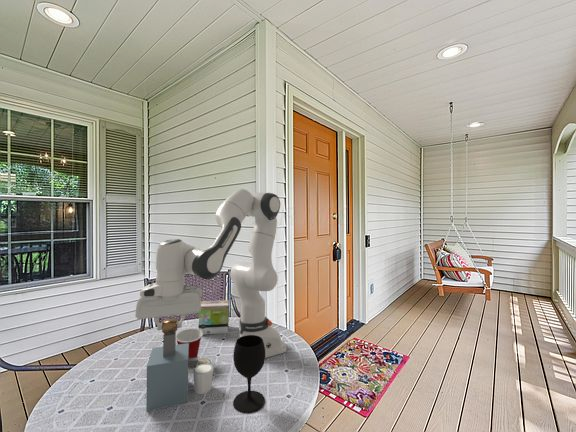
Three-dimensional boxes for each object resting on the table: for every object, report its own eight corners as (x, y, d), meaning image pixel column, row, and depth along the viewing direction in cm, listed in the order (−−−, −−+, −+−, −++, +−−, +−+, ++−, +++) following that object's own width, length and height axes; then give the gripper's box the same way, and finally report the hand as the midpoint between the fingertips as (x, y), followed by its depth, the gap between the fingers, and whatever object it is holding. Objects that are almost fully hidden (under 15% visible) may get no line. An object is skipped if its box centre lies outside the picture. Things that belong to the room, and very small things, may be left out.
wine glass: (236, 417, 80) (237, 351, 81) (230, 396, 90) (230, 336, 90) (269, 407, 85) (269, 344, 85) (259, 388, 94) (260, 331, 94)
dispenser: (197, 379, 99) (197, 322, 99) (197, 400, 88) (197, 336, 88) (152, 387, 94) (152, 328, 94) (146, 411, 83) (146, 343, 83)
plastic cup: (176, 373, 103) (176, 342, 103) (173, 359, 113) (174, 331, 113) (205, 366, 108) (205, 336, 108) (200, 353, 118) (200, 326, 118)
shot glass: (207, 396, 90) (207, 375, 90) (188, 393, 91) (188, 372, 91) (216, 383, 97) (216, 364, 97) (199, 381, 98) (199, 362, 98)
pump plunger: (177, 348, 93) (177, 317, 93) (176, 355, 89) (177, 322, 89) (162, 350, 92) (162, 319, 92) (160, 357, 87) (161, 324, 87)
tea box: (198, 335, 135) (198, 306, 135) (200, 327, 145) (200, 300, 145) (228, 333, 138) (228, 305, 138) (228, 325, 148) (229, 299, 148)
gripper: (202, 283, 97) (201, 321, 97) (138, 287, 90) (138, 328, 90) (202, 287, 91) (202, 328, 91) (134, 292, 84) (134, 336, 84)
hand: (169, 328), depth 90 cm, fingers closed on pump plunger, 5 cm apart
